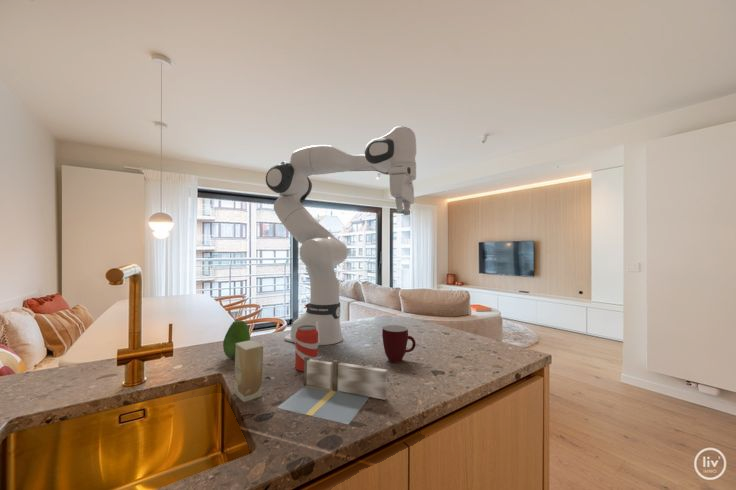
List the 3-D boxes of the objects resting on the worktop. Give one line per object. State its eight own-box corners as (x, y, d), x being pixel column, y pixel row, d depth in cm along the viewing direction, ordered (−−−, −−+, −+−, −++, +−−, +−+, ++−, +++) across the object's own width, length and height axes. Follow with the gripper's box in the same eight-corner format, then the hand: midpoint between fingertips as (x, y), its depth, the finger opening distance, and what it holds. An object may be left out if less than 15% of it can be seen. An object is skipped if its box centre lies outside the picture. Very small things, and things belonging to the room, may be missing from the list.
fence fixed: (302, 385, 76) (303, 357, 76) (305, 383, 77) (306, 355, 77) (336, 391, 72) (336, 362, 72) (338, 389, 74) (339, 360, 74)
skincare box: (233, 394, 71) (234, 342, 72) (251, 388, 74) (252, 339, 75) (244, 404, 67) (245, 349, 67) (263, 397, 70) (263, 345, 70)
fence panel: (337, 390, 72) (337, 364, 72) (339, 388, 73) (340, 362, 74) (385, 399, 68) (385, 371, 68) (386, 397, 69) (387, 369, 69)
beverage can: (318, 372, 85) (318, 329, 85) (294, 374, 83) (295, 330, 84) (317, 364, 91) (317, 324, 91) (295, 365, 89) (296, 325, 89)
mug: (409, 354, 100) (410, 324, 100) (419, 363, 92) (419, 330, 92) (379, 356, 98) (379, 325, 98) (386, 366, 90) (386, 332, 90)
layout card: (276, 409, 65) (276, 407, 65) (312, 381, 79) (312, 379, 79) (348, 426, 59) (348, 424, 59) (373, 392, 73) (373, 390, 73)
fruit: (219, 357, 95) (219, 319, 95) (244, 352, 100) (245, 316, 101) (227, 365, 89) (227, 324, 89) (253, 359, 94) (254, 320, 95)
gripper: (401, 181, 116) (401, 216, 116) (386, 167, 97) (386, 210, 97) (418, 180, 114) (417, 216, 114) (405, 165, 95) (405, 209, 94)
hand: (403, 213), depth 105 cm, fingers open, 8 cm apart
